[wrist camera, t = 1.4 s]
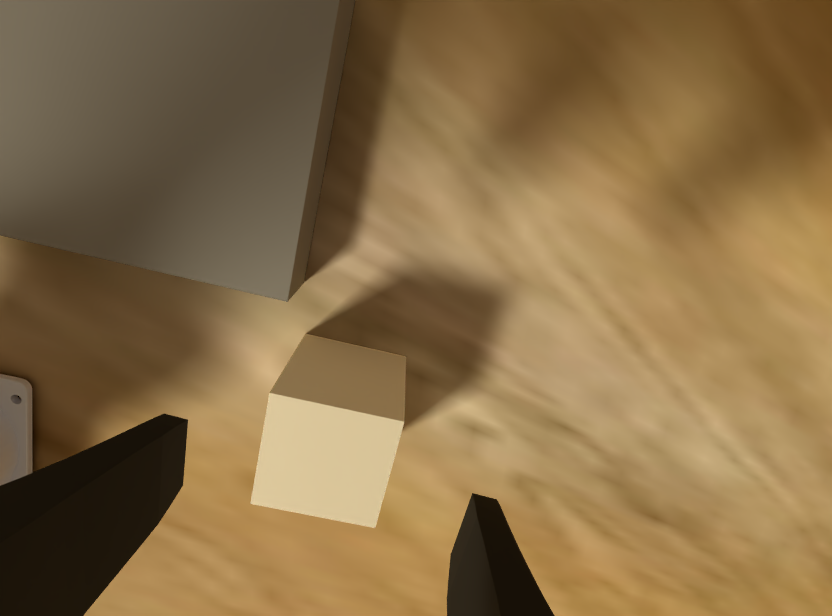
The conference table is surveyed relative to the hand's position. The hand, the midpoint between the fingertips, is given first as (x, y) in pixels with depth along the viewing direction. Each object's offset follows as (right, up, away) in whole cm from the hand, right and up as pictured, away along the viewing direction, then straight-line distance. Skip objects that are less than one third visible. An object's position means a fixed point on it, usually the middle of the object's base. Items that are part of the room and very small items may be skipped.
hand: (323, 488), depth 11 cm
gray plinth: (-7, +13, +8) cm, 16 cm away
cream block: (-1, 0, +12) cm, 12 cm away
